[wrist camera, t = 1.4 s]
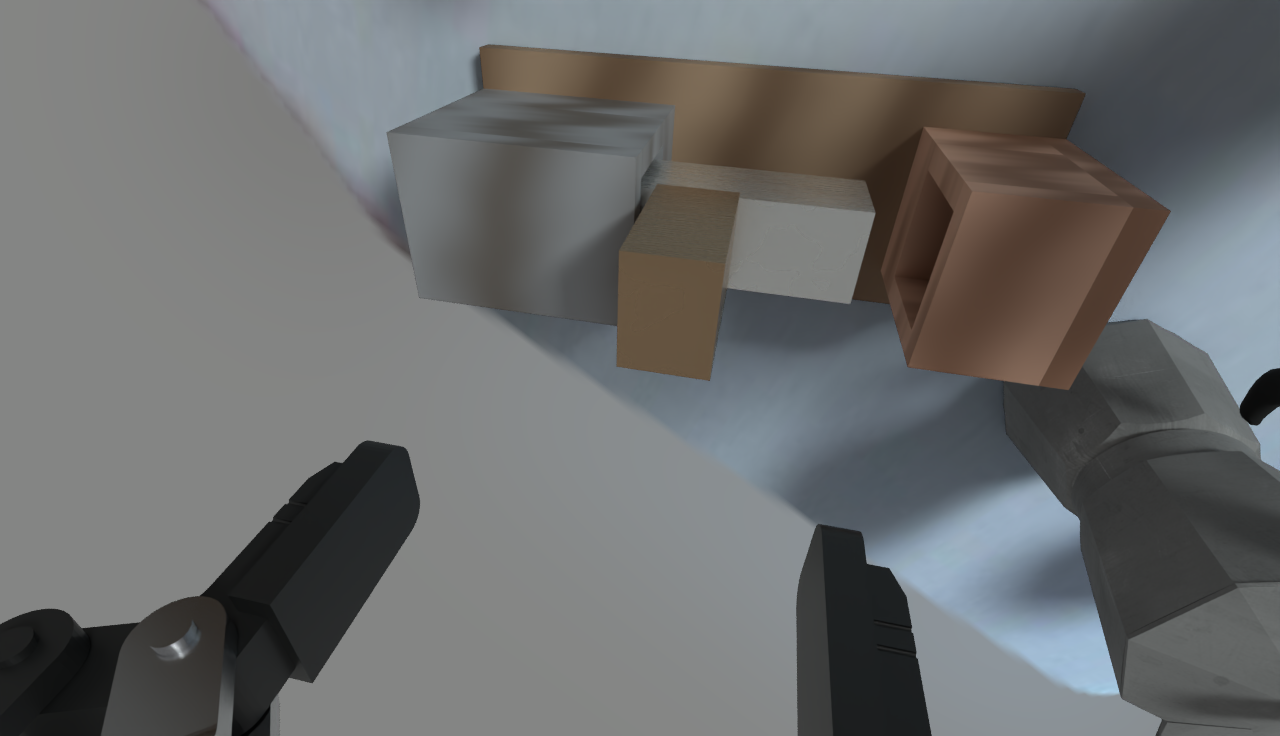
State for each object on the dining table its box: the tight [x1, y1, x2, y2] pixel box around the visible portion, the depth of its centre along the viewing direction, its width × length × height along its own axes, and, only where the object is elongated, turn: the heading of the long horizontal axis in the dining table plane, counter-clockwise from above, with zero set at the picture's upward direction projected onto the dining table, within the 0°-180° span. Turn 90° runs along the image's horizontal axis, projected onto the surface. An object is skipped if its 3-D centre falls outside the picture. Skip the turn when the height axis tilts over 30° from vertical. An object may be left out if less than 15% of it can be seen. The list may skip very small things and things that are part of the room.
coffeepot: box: [1003, 319, 1280, 736], centre depth 23 cm, size 15×9×18 cm, turn 177°
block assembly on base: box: [387, 45, 1171, 390], centre depth 25 cm, size 25×10×9 cm, turn 88°
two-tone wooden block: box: [617, 159, 875, 381], centre depth 22 cm, size 17×4×10 cm, turn 88°
